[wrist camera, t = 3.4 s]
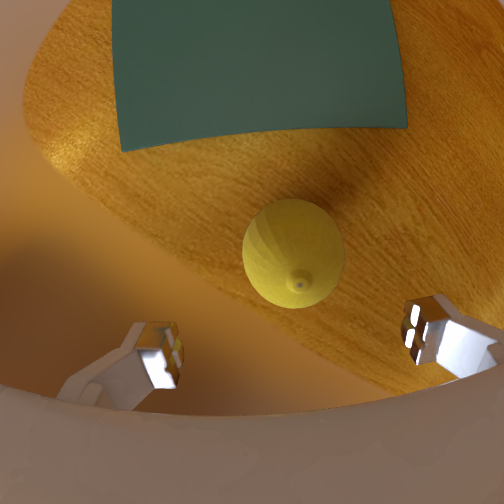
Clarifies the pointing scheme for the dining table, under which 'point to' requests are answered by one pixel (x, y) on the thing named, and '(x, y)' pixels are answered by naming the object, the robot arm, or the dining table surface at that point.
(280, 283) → the lemon
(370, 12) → the cutting board
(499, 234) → the dining table surface
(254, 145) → the dining table surface
